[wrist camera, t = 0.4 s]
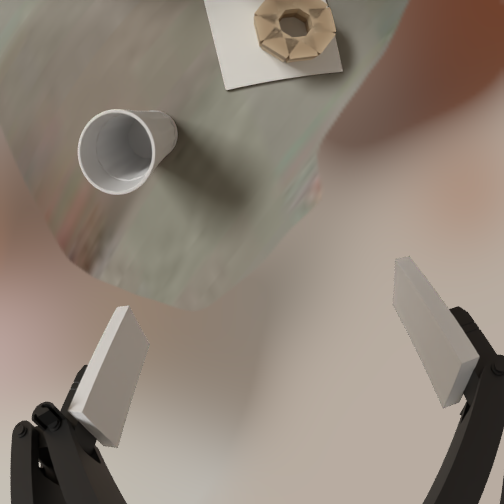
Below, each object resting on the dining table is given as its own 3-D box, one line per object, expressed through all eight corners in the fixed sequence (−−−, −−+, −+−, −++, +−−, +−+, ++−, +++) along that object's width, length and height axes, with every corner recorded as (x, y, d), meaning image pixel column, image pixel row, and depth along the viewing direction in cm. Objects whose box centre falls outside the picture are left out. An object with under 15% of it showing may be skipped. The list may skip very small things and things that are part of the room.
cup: (177, 96, 34) (144, 98, 23) (190, 158, 37) (164, 184, 27) (118, 113, 34) (69, 124, 24) (132, 171, 38) (90, 202, 27)
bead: (249, 5, 28) (248, -4, 24) (317, -3, 27) (324, -13, 24) (264, 66, 32) (265, 63, 28) (332, 57, 31) (341, 53, 27)
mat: (192, -46, 24) (192, -47, 24) (304, -62, 23) (305, -64, 22) (226, 90, 33) (225, 90, 33) (342, 71, 32) (342, 71, 32)
